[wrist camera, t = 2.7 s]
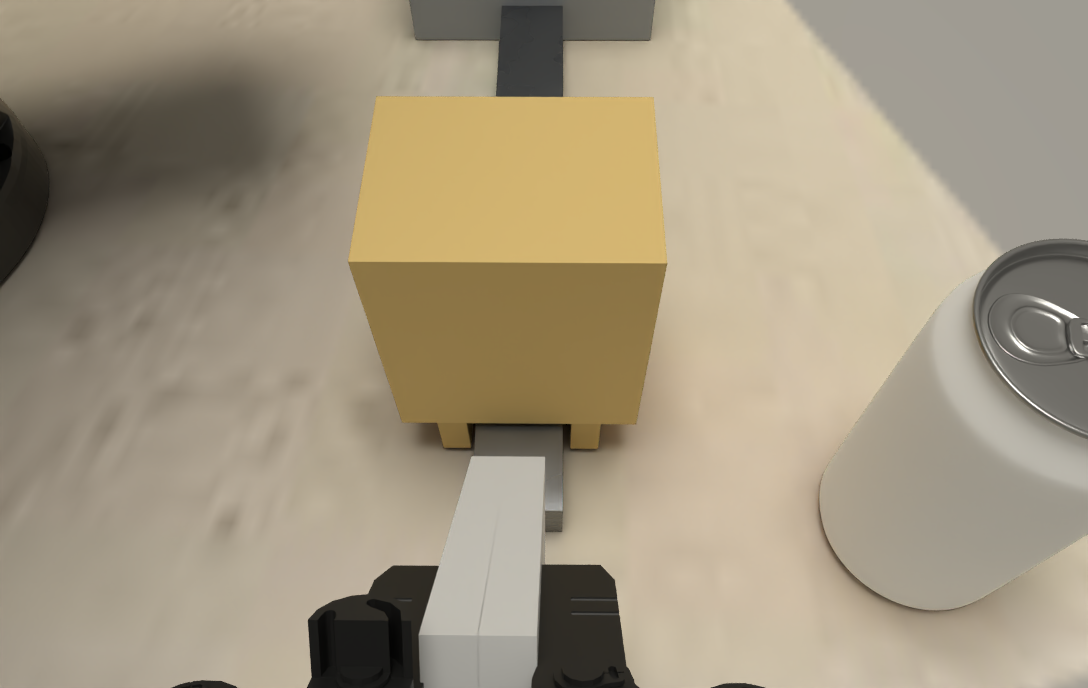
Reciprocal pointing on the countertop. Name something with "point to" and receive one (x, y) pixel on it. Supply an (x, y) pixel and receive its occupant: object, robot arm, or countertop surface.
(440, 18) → the gauge cabinet
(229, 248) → the countertop surface
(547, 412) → the carriage
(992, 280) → the can
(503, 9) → the rail
